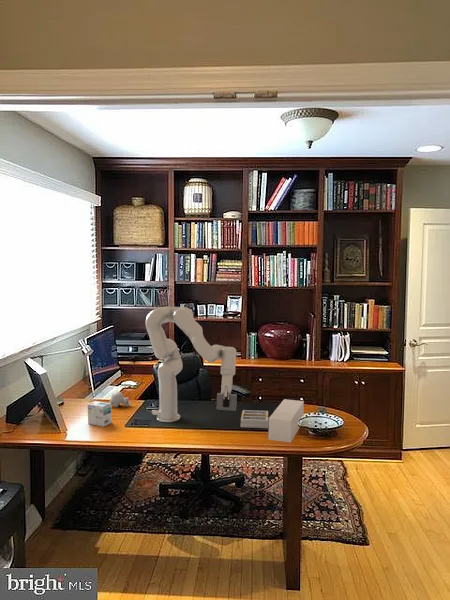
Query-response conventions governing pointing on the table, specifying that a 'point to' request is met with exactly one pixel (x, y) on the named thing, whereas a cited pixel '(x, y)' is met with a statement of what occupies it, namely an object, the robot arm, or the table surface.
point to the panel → (231, 402)
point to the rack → (254, 419)
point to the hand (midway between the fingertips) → (226, 405)
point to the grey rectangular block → (285, 420)
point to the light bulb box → (99, 413)
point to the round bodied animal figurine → (119, 399)
